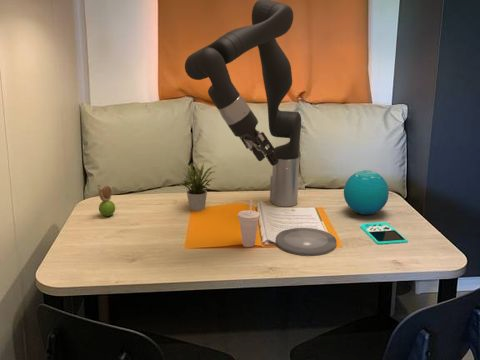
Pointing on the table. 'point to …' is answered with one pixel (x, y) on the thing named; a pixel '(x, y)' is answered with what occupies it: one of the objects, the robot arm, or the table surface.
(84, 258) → the table surface
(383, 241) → the handheld game console
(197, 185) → the house plant
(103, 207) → the snail figurine
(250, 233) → the smoothie
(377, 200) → the decorative orb
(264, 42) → the robot arm
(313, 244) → the dish
